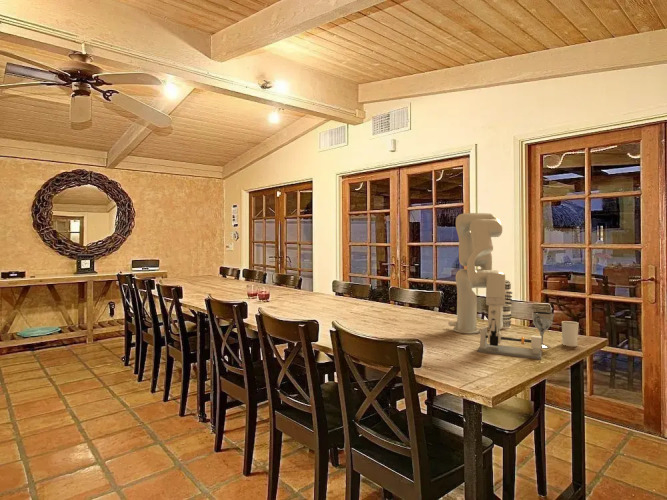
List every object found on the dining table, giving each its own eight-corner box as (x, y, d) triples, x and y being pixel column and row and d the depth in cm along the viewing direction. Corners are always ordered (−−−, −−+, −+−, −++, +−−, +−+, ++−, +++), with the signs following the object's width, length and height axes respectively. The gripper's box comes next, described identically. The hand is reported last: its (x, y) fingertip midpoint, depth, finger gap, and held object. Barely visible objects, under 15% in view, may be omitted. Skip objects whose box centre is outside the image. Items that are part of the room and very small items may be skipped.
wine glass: (549, 344, 194) (550, 311, 194) (553, 349, 187) (554, 314, 186) (530, 343, 197) (531, 310, 196) (533, 347, 189) (534, 313, 188)
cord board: (477, 351, 182) (477, 330, 182) (482, 345, 193) (482, 325, 192) (540, 359, 171) (541, 336, 171) (542, 352, 182) (542, 330, 181)
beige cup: (580, 347, 191) (580, 324, 190) (563, 346, 192) (564, 323, 192) (575, 343, 197) (575, 321, 197) (559, 342, 198) (559, 320, 198)
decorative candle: (508, 325, 236) (509, 279, 235) (514, 329, 227) (515, 281, 226) (491, 324, 237) (492, 279, 236) (496, 328, 228) (496, 281, 227)
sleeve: (487, 342, 184) (487, 333, 184) (489, 340, 187) (489, 331, 187) (500, 343, 182) (500, 334, 181) (501, 341, 185) (501, 332, 185)
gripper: (502, 304, 175) (501, 349, 175) (507, 299, 190) (506, 341, 190) (482, 303, 178) (482, 347, 179) (488, 298, 193) (488, 339, 194)
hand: (494, 343), depth 185 cm, fingers closed on sleeve, 4 cm apart
